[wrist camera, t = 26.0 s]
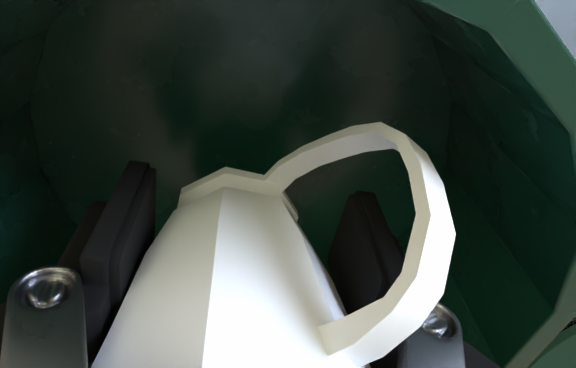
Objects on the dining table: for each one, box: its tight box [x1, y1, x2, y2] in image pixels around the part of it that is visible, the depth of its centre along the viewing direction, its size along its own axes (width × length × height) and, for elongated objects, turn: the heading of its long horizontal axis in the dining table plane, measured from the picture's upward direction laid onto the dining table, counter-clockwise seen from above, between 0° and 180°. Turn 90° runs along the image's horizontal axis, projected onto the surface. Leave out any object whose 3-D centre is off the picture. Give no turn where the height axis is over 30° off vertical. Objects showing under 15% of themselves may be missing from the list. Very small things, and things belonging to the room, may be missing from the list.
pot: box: [0, 0, 576, 368], centre depth 12 cm, size 16×22×8 cm
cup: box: [91, 122, 456, 368], centre depth 10 cm, size 7×10×8 cm
